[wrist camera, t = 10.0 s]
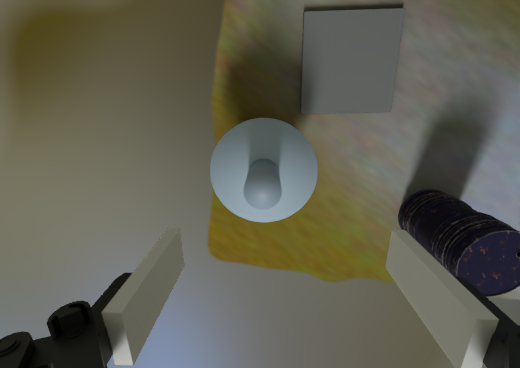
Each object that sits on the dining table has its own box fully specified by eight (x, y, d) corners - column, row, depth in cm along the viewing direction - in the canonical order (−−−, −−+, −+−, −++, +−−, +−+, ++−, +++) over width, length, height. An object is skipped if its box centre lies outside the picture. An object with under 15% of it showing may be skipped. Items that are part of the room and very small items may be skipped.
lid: (208, 118, 32) (188, 123, 24) (319, 116, 32) (335, 121, 24) (215, 218, 36) (201, 250, 29) (313, 218, 36) (326, 250, 28)
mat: (303, 13, 36) (304, 11, 36) (402, 10, 36) (404, 8, 35) (300, 113, 41) (301, 114, 40) (388, 112, 40) (390, 112, 40)
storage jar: (411, 247, 48) (472, 308, 34) (387, 207, 45) (442, 256, 31) (462, 220, 46) (550, 274, 32) (441, 177, 43) (525, 214, 29)
